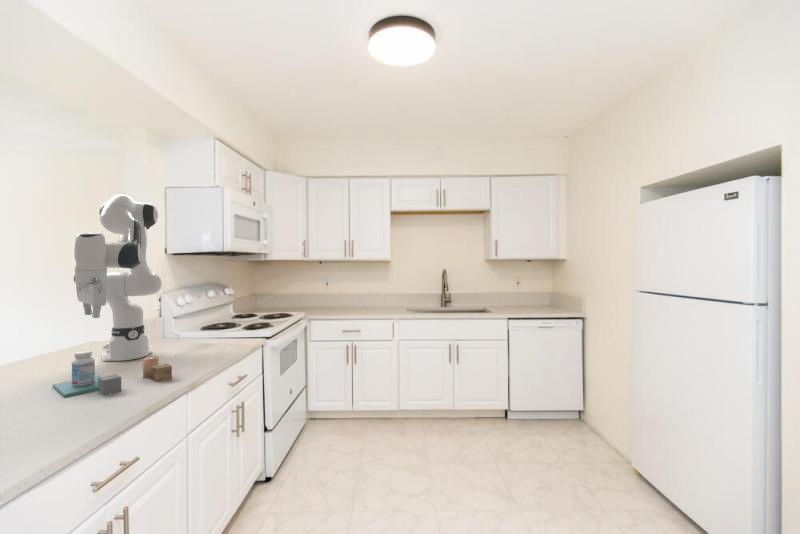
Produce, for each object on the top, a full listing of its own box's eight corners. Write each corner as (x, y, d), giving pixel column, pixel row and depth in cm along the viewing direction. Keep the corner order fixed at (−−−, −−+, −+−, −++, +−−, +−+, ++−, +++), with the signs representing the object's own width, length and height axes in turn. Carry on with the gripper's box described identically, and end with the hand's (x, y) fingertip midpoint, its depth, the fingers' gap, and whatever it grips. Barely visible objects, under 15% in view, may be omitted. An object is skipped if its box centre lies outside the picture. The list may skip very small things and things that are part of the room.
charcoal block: (98, 392, 123) (98, 377, 123) (116, 388, 127) (116, 374, 127) (102, 395, 120) (102, 380, 120) (121, 391, 124) (121, 376, 124)
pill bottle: (70, 384, 128) (70, 352, 128) (93, 379, 132) (93, 349, 132) (72, 388, 124) (72, 355, 124) (96, 383, 128) (95, 351, 128)
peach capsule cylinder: (140, 376, 140) (140, 358, 140) (155, 373, 144) (155, 355, 144) (146, 379, 137) (145, 360, 137) (161, 375, 141) (160, 357, 141)
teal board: (52, 387, 128) (52, 384, 128) (99, 377, 138) (99, 375, 138) (64, 397, 118) (64, 394, 118) (113, 386, 128) (113, 383, 128)
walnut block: (151, 379, 136) (151, 366, 136) (165, 376, 140) (165, 363, 140) (156, 382, 133) (156, 368, 133) (171, 378, 138) (171, 365, 137)
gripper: (111, 278, 127) (112, 318, 127) (94, 276, 139) (94, 312, 139) (88, 279, 122) (89, 321, 122) (72, 276, 134) (73, 314, 134)
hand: (92, 316), depth 131 cm, fingers open, 8 cm apart
